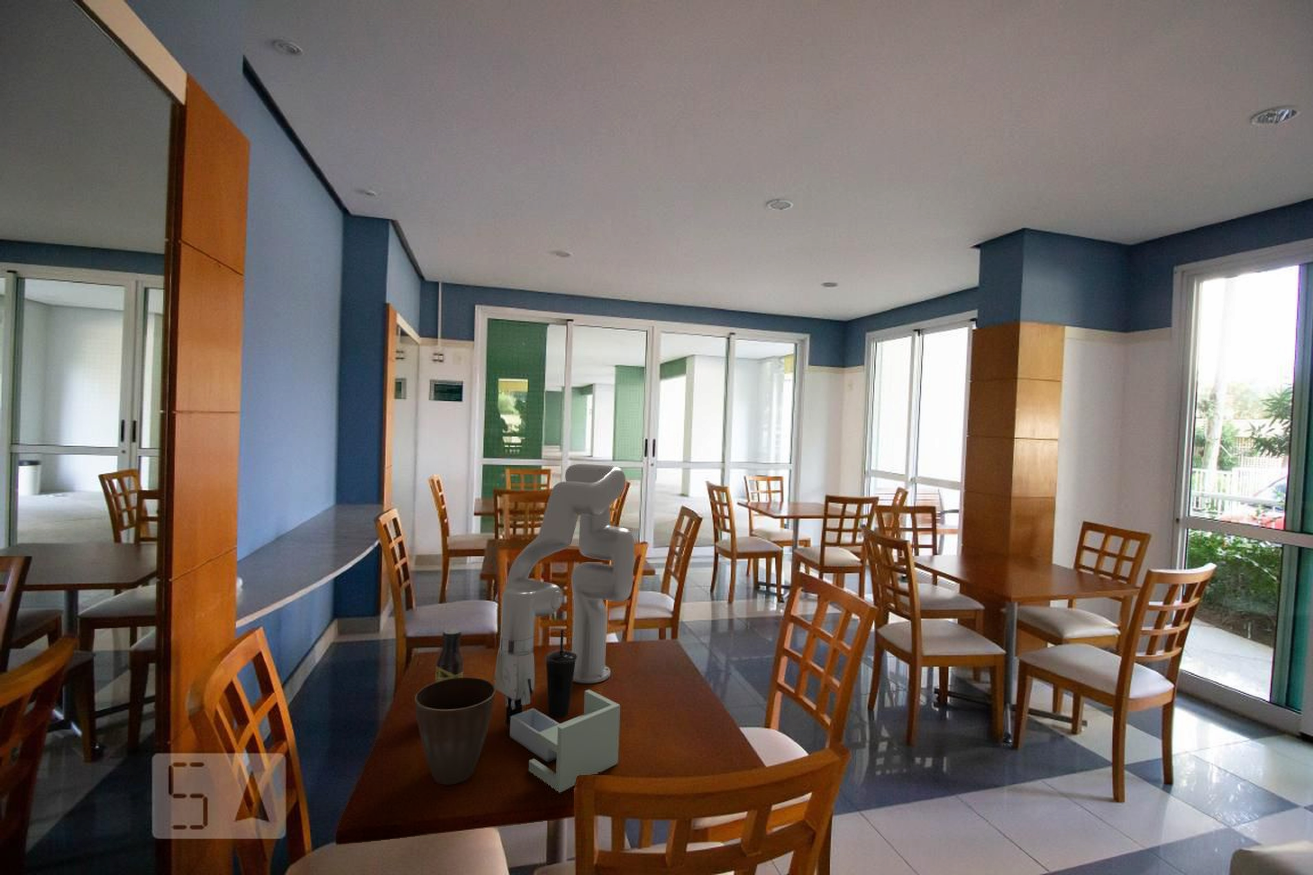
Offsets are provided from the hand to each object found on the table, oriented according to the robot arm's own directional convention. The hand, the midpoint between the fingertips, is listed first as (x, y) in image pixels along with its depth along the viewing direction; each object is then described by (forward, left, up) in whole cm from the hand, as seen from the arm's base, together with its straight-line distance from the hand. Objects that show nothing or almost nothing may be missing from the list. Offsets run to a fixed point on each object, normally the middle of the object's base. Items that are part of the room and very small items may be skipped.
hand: (513, 723), depth 133 cm
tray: (+10, 0, -1) cm, 10 cm away
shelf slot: (+22, 0, -1) cm, 22 cm away
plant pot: (+8, -19, -1) cm, 21 cm away
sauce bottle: (-16, -8, -1) cm, 18 cm away
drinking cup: (+1, +12, -1) cm, 12 cm away
